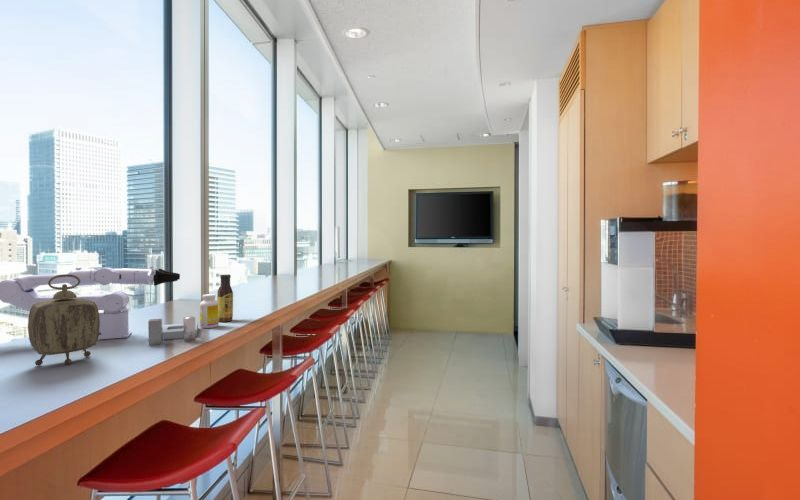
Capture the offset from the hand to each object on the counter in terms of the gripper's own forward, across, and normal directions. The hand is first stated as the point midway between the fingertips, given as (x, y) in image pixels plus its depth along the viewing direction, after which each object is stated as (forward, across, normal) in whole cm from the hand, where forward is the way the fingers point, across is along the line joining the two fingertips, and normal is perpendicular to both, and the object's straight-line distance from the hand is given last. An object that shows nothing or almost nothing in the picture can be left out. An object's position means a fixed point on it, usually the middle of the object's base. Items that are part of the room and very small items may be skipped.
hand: (178, 277), depth 150 cm
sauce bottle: (+17, +15, +20) cm, 30 cm away
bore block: (0, -4, +21) cm, 21 cm away
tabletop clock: (-24, -31, +23) cm, 45 cm away
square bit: (-4, -16, +21) cm, 27 cm away
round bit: (+6, -16, +21) cm, 27 cm away
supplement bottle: (+11, +5, +20) cm, 24 cm away
